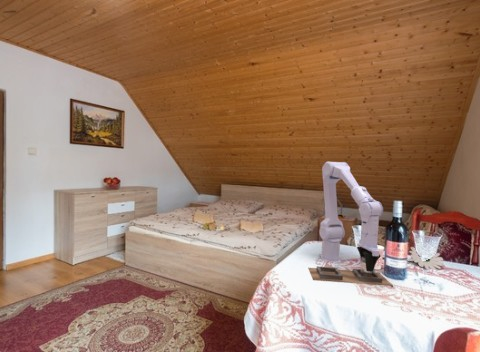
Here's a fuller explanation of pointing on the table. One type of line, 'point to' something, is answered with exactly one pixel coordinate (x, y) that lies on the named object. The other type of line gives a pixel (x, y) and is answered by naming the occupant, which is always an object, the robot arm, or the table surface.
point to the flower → (430, 262)
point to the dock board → (347, 276)
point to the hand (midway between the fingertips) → (367, 268)
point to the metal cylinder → (364, 269)
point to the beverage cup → (379, 261)
